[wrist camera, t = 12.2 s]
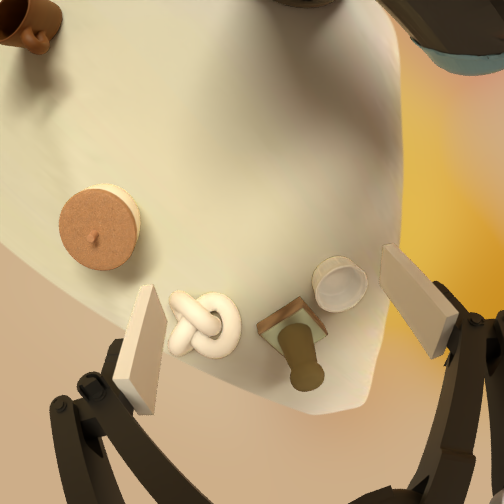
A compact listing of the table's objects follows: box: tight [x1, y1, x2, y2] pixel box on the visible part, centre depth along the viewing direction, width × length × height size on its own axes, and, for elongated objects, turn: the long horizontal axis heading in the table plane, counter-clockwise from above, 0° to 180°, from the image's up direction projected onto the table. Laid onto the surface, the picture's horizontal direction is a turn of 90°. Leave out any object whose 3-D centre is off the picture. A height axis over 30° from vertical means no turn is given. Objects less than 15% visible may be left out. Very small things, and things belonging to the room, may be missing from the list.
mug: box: [0, 0, 62, 55], centre depth 22 cm, size 12×8×9 cm, turn 36°
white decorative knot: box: [168, 290, 242, 359], centre depth 46 cm, size 11×12×9 cm
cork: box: [277, 323, 324, 392], centre depth 46 cm, size 6×6×11 cm
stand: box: [257, 297, 328, 357], centre depth 52 cm, size 9×9×3 cm
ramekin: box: [312, 256, 368, 313], centre depth 48 cm, size 9×9×4 cm
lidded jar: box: [59, 184, 140, 270], centre depth 36 cm, size 11×11×9 cm
